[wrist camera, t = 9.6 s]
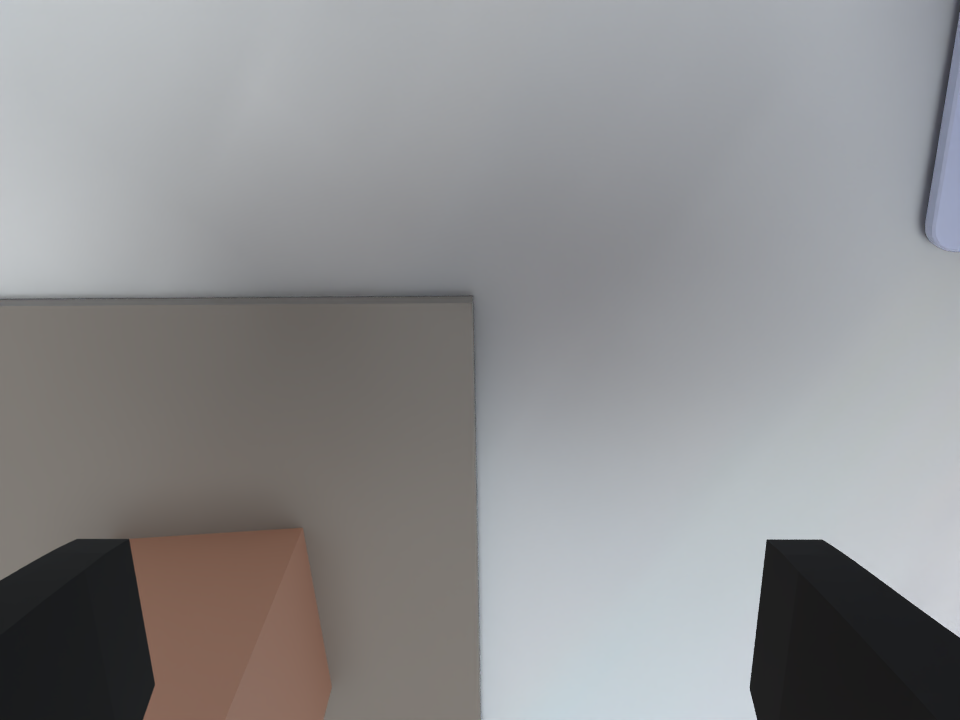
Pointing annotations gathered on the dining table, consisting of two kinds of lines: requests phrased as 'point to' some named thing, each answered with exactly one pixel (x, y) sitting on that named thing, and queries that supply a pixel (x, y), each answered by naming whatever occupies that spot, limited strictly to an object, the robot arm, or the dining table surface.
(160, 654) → the terracotta block
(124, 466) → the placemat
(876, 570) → the dining table surface
